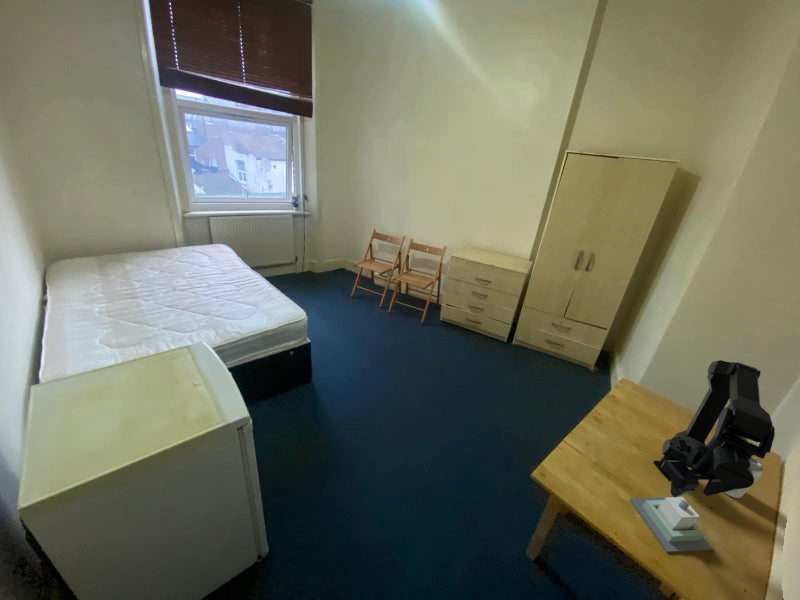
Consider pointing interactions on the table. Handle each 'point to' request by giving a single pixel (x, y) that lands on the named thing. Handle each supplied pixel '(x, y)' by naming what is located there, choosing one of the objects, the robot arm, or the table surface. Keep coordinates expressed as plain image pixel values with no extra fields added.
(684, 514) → the plug
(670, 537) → the charging dock
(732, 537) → the table surface
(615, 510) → the table surface
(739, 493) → the can
